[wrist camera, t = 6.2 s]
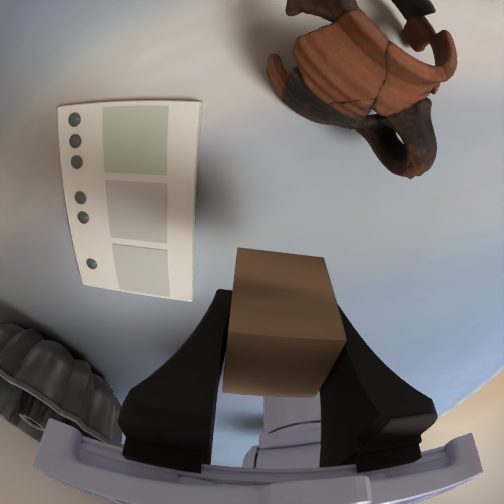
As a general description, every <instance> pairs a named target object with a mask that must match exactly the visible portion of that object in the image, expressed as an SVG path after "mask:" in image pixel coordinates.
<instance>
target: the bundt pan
mask: <svg viewBox="0 0 504 504" xmlns="http://www.w3.org/2000/svg"><path fill="white" fill-rule="evenodd" d="M120 410H121V404H120V403H119V401H118V399H117V398H116V397H115V396H114V395H113V393H112V390H111V388H110V387H109V385H108V384H107V383H106V382H105V381H104V380H103V379H102V378H101V377H100V376H98V375H96V374H94V373H92V371H91V368H90V365H89V363H88V362H87V361H85V360H78V359H74V358H73V356H72V355H71V353H70V352H69V351H68V350H67V349H66V348H65V347H64V346H63V345H61V344H60V343H57V342H55V341H51V340H45V339H44V338H43V336H42V334H41V333H40V332H39V331H38V330H36V329H27V330H25V329H23V328H21V327H20V326H18V325H14V324H3V325H0V416H1V417H2V418H3V419H4V420H5V421H6V422H8V423H9V424H11V425H13V426H14V427H16V428H17V429H18V430H20V431H21V432H23V433H24V434H25V435H27V436H29V437H30V438H32V439H34V440H35V441H37V442H39V443H40V441H41V439H42V436H43V433H44V430H45V427H46V425H47V422H48V419H50V418H52V419H54V420H57V421H59V422H62V423H64V424H67V425H70V426H72V427H74V428H76V429H77V430H78V431H80V433H81V434H82V436H85V437H88V438H91V439H94V440H97V441H100V442H103V443H106V444H110V445H113V446H117V447H120V448H121V441H122V430H121V428H120V427H119V425H118V423H117V420H118V417H119V413H120Z"/></svg>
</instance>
